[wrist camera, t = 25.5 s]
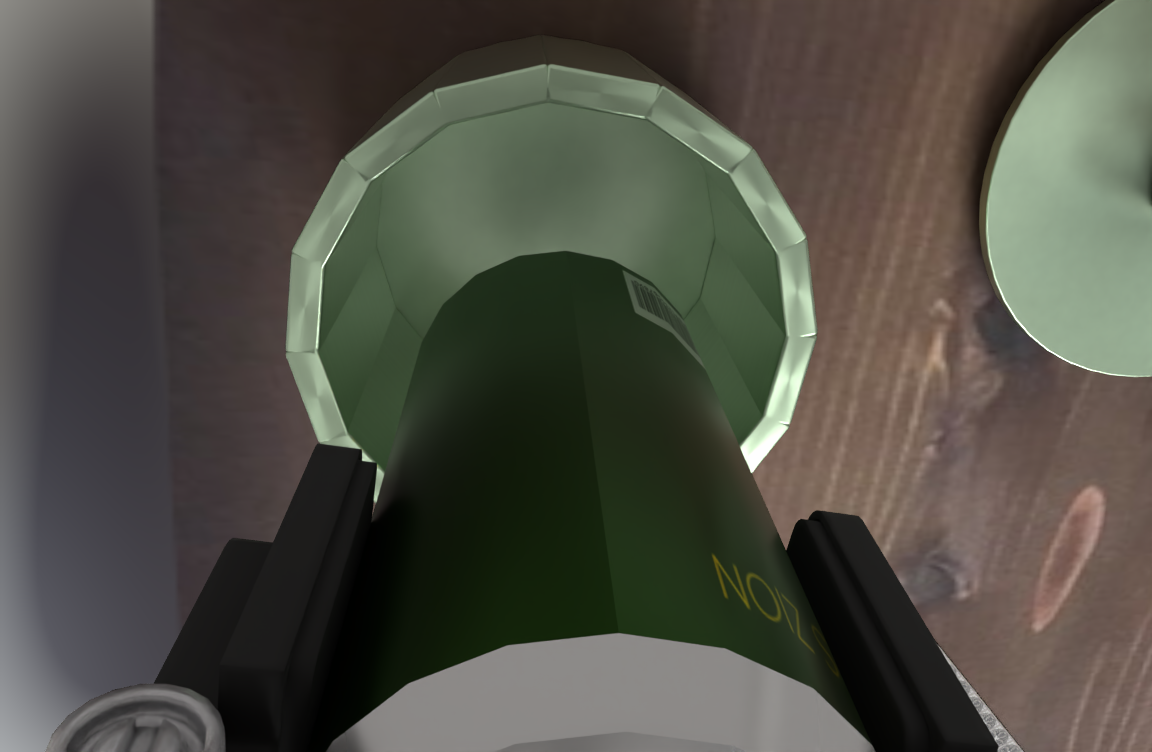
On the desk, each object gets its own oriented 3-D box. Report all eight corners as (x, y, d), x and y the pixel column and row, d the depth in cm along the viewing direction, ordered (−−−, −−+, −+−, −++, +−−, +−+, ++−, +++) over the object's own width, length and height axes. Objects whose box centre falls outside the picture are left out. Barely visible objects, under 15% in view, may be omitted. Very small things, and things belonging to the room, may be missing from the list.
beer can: (534, 179, 16) (549, 600, 6) (749, 351, 18) (1092, 943, 7) (364, 393, 18) (110, 1054, 7) (576, 534, 20) (637, 1252, 9)
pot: (375, 0, 24) (304, 17, 16) (775, 77, 25) (883, 125, 18) (342, 377, 28) (273, 530, 21) (685, 426, 30) (741, 588, 22)
